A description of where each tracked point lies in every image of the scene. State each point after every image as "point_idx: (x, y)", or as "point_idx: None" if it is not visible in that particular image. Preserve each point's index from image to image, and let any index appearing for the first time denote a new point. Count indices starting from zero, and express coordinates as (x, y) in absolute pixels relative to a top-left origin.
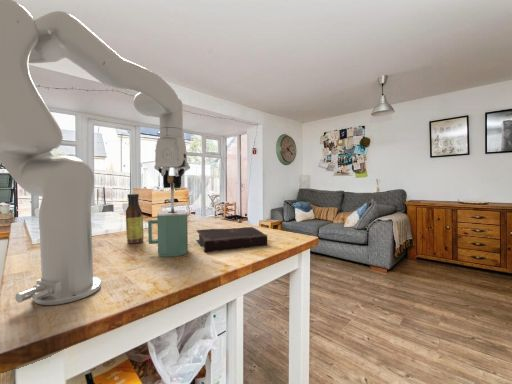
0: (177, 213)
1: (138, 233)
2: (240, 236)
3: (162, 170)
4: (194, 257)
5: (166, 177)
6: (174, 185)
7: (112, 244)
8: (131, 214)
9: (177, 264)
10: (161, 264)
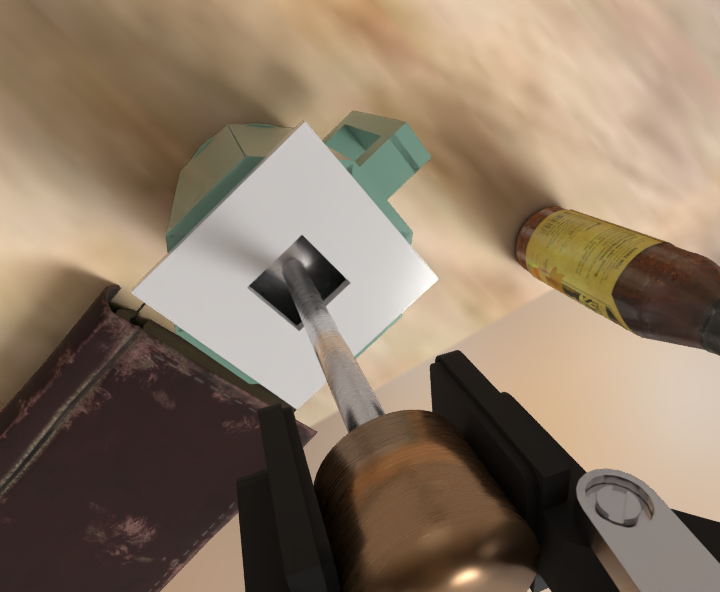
0: (208, 259)
1: (547, 247)
2: (4, 491)
3: (714, 586)
4: (91, 192)
5: (517, 494)
6: (282, 424)
7: (610, 164)
8: (659, 260)
9: (73, 52)
10: (156, 13)
